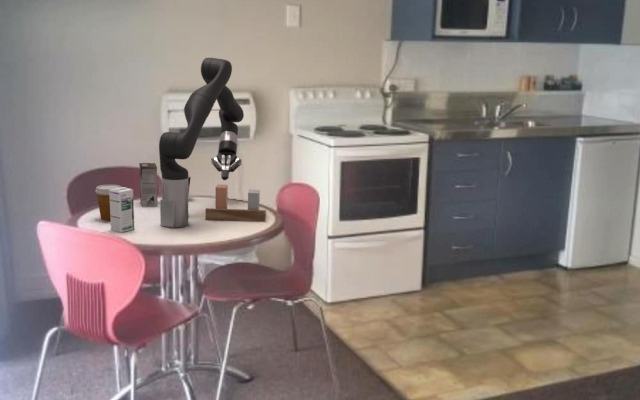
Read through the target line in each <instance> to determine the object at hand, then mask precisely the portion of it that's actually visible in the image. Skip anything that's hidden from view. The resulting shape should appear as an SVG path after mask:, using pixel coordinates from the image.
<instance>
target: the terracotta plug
mask: <svg viewBox="0 0 640 400" xmlns="http://www.w3.org/2000/svg"><path fill="white" fill-rule="evenodd" d="M228 188H229V187H228V184H219V183H218V184H217V185H216V186H215V203H214V204H215V208H214V209H228V203H229V202H228V201H229V200H228V193H229V192H228V190H229V189H228Z"/></svg>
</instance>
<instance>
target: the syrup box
mask: <svg viewBox="0 0 640 400" xmlns="http://www.w3.org/2000/svg"><path fill="white" fill-rule="evenodd" d="M109 196H110V216H111V221H110V230H111V231H114V232H117V233H121V234H122V233H125V232H128V231H134V230H135V209H134V205H135V204H134V189H133V188H129V187H126V186H125V187H124V186H123V187H122V186H121V188H117V189H111V190H109Z"/></svg>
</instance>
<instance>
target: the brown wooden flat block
mask: <svg viewBox="0 0 640 400" xmlns="http://www.w3.org/2000/svg"><path fill="white" fill-rule="evenodd" d="M204 210H205V211H204V212H205V214H204V215H205V221H229V222H256V223H257V222H259V223H261V222H262V223H264V222H265V223H266V221H265V220H266V216H267V210H266V209H259V210H248V209H238V208H227V209H215V208H212V207H211V208H210V207H209V208H207V207H206V208H205V209H204Z"/></svg>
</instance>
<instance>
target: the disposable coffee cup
mask: <svg viewBox="0 0 640 400" xmlns="http://www.w3.org/2000/svg"><path fill="white" fill-rule="evenodd" d="M121 187H122V186H121V185H119V184H101V185H98V186H96V188H95V193H96V198H97V204H98V210H99V215H100V220H101V221H103V222H104V221H105V222H111V216H110V196H109V190H111V189H117V188H121Z"/></svg>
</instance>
